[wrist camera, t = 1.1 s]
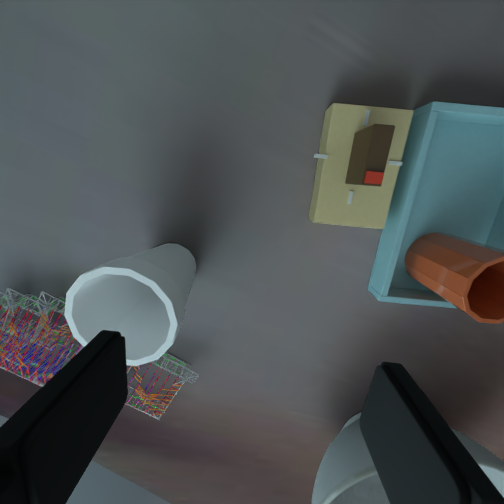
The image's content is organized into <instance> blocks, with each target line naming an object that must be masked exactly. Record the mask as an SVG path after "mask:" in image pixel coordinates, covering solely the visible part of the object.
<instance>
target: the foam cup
mask: <svg viewBox="0 0 504 504" xmlns="http://www.w3.org/2000/svg"><path fill="white" fill-rule="evenodd" d="M196 269H197V267H196V262H195V258H194V257H193V255H192V254H191V253H190V251H189V250H188V249H186V248H185V247H183V246H181V245H179V244H171V243H167V244H163V245H160V246H157V247H154V248H152V249H149V250H146V251H143V252H140V253H137V254H134V255H131V256H128V257H125V258H122V257H119V258H116V259H114V260H111V261H108V262H106V263H103V264H101V265H98V266H96V267H95V268H93V269H91V270H89V271H87V272H86V273H84V274H82V275H80V276H79V277H78V279H77V280H76V281H75V283H74V284H73V285H72V286H71V288H70V289H69V290H68V292H67V293H66V303H65V313H64V315H65V318H66V320H67V322H68V325H69V327H70V330H71V332H72V334H73V337H74V338H75V339H76V340H77V341H78V342H79V343H81V344H82V345H83V346H84V347H85V346H86V345H87V344H88V343H89V342H90V341H91V340H92V339H93V338H94V337H95V336H96V335H97V334H98V333H99V332H100V331H102V330H109V331H118V332H120V333H121V336H124V337H125V345H126V365H131V366H138V365H142V364H145V363H148V362H151V361H154V360H157V359H159V358H160V357H161V356H162V355H163V354H164V353H165V352H166V351H167V350H168V349H169V348H170V347H171V346H172V345H173V343H174V341H175V339H176V337H177V335H178V333H179V331H180V329H181V326H182V322H183V318H184V314H185V311H186V309H185V306H186V303H187V300H188V296H189V293H190V290H191V287H192V283H193V280H194V276H195V273H196Z"/></svg>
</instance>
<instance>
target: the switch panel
mask: <svg viewBox="0 0 504 504" xmlns="http://www.w3.org/2000/svg"><path fill="white" fill-rule="evenodd" d="M413 111H414V110H406V109H395V108H384V107H373V106H363V105H352V104H341V103H333V104H332V105H331V106H330V107H329V108H328V109H327V110H326V111H325V118H324V124H323V130H322V137H321V143H320V149H319V154H314V158H318V162H317V168H316V174H315V181H314V187H313V193H312V200H311V206H310V212H309V219H310V220H311V221H313V222H314V223H324V224H334V225H345V226H356V227H367V228H377V229H384V226H385V222H386V218H387V214H388V210H389V206H390V202H391V199H392V195H393V191H394V187H395V183H396V179H397V175H398V171H399V167H400V166H402V163H403V162H401V159H402V155H403V151H404V147H405V143H406V139H407V135H408V131H409V127H410V123H411V119H412V115H413ZM373 124H385V125H395V130H394V134H393V138H392V142H391V146H390V151H389V155H388V159H387V163H386V168H385V172H384V176H383V180H382V184H381V186H380V187H378V186H365V185H354V184H345V181H346V176H347V170H348V165H349V160H350V155H351V150H352V145H353V139H354V134H355V133H356V132H358V131H360V130H362V129H364V128H367V127H369V126H371V125H373Z"/></svg>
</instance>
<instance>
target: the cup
mask: <svg viewBox="0 0 504 504" xmlns="http://www.w3.org/2000/svg"><path fill="white" fill-rule="evenodd" d="M404 265H405V269H406V271H407V273H408V274H409V276H411V277H412V278H413V279H415V280H416V281H417V282H419V283H420V284H422V285H423V286H425V287H426V288H428V289H429V290H431V291H432V292H434V293H435V294H437V295H438V296H440V297H441V298H443V299H444V300H446V301H447V302H449V303H450V304H452V305H454V306H455V307H457V308H458V309H460V310H461V311H463V312H464V313H466V314H467V315H469V316H470V317H472V318H473V319H475V320H476V321H478V322H483V323H494V324H499V323H502V322H504V250H502V249H499V248H495V247H492V246H489V245H485V244H482V243H479V242H475V241H472V240H468V239H465V238H462V237H458V236H455V235H452V234H445V233H441V232H434V233H429V234H426V235H423V236H421V237H420V238H418V239H417V240H415V241H414V242H413V243H412V244H411V246H410V247H409V248H408V250H407V252H406V255H405V260H404Z"/></svg>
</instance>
